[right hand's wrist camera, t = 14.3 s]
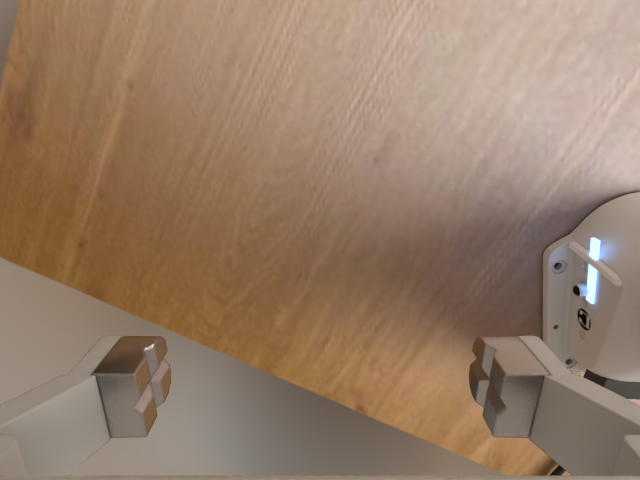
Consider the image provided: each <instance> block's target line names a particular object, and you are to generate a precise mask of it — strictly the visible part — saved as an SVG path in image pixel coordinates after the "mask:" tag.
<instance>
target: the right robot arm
mask: <svg viewBox="0 0 640 480" xmlns="http://www.w3.org/2000/svg"><path fill="white" fill-rule="evenodd" d="M556 263H558V265H557V266H556V267H554V265H555V264H556ZM472 351H473V352H474V354H475V356H476V360H475V361H474V362H473V363H472V364H471V365H470V370H469V383H470V389H471V392H472V395H473V397H474V399H475V402H476V403H478V404H479V405H481V406H482V407H483V408H484V410H483V417H484V419H485V421H486V423H487V425H488V427H489V429H490V431H491V433H492V435H493V437H508V438H530V439H529V440H530V441H531V442H533V443H534V444H535V445H536V446H537V447H539V448H540V449H541V450H542V451H543V452H545V453H546V454H547V455H548V456H549V457H551V458H552V459H553V460H554V461H555V462H557V463H558V464H559V466H558V467H557V468H556V469H555V470H554V471H553V472H552V473H551V475H550V476H68V475H69V474H70V473H72V472H73V471H74V470H75V469H76V468H78V467H79V466H80V465H81V464H82V463H84V462H85V461H86V460H87V459H88V458H90V457H91V456H92V455H93V454H94V453H95V452H97V451H98V450H99V449H100V448H102V447H103V446H104V445H105V444H106V443H108V442H109V441H110V440H111V439H110V438H132V437H147V435H148V433H149V431H150V429H151V427H152V425H153V423H154V421H155V419H156V417H157V410H156V408H157V407H158V406H159V405H161V404H162V403H164V401H165V399H166V397H167V395H168V393H169V388H170V384H171V370H170V365H169V364H168V363H167V362H166V361H165V360H164V356H165V354H166V352H167V345H166V340H165V339H164V338H163V337H156V336H104V337H101V338H100V339H99V340H98V341H97V343H96V344H95V345H94V346H93V347H92V348H91V349H90V350H89V351H88V352H87V354H86V355H85V356H84V357H83V358H82V359H81V360H80V361H79V362H78V364H77V365H76V366H75V367H74V368H73V369H72V370H71V371H70V372H69V373H68V375H61V376H58V377H56V378H54V379H52V380H50V381H48V382H46V383H44V384H42V385H40V386H38V387H36V388H34V389H32V390H30V391H28V392H26V393H24V394H22V395H20V396H18V397H16V398H14V399H12V400H10V401H8V402H6V403H4V404H2V405H0V480H640V405H638V404H636V403H634V402H632V401H630V400H628V399H640V192H636V193H631V194H627V195H624V196H621V197H618V198H615V199H613V200H611V201H609V202H607V203H605V204H604V205H602V206H600V207H599V208H597V209H596V210H595V211H593V212H592V213H591V214H590V215H588V216H587V217H586V218H585V219H584V220H583V221H582V222H581V223H580V224H579V225H578V226H577V228H576V229H575V230H574V231H572V232H571V233H570V234H569V235H567V236H565V237H563V238H561V239H560V240H558V241H556V242H554V243H553V244H551V245H550V246H548V247H547V248H546V250H545V251H544V253H543V341H542V340H541V339H540V338H539V337H537V336H514V337H476V339H475V341H474V345H473V350H472ZM566 360H567V361H566ZM569 370H573V371H579V372H585V374H584V377H582V376H580V375H572V373H571V372H570V371H569ZM565 471H567V472H568V473H570V474H571V475H572V476H561V475H562V474H563V473H564V472H565Z"/></svg>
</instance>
